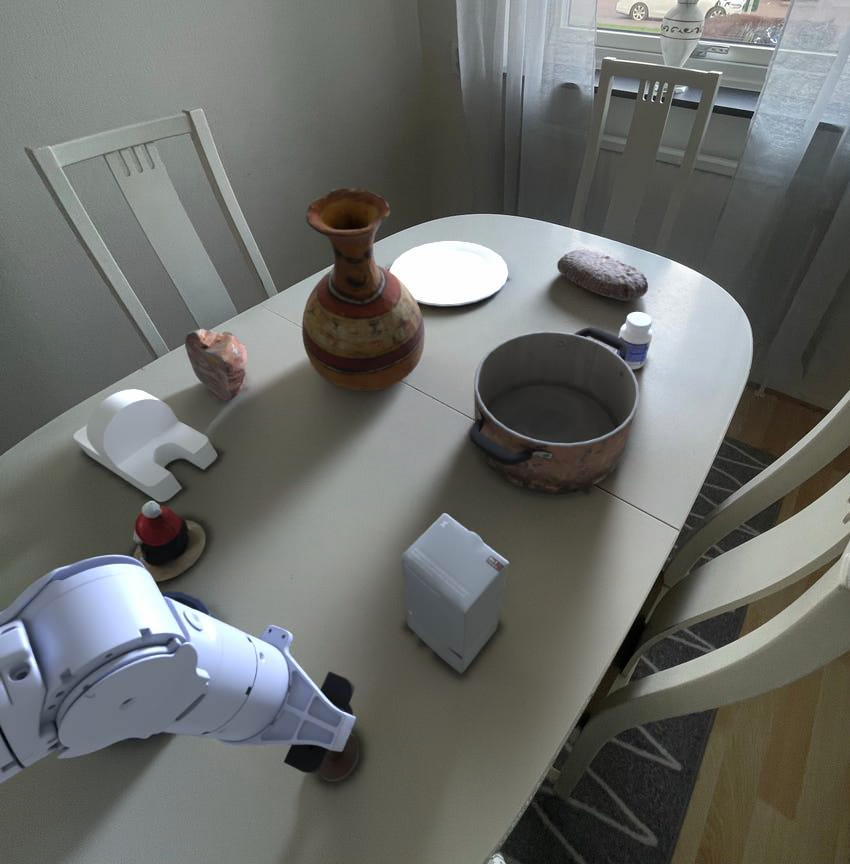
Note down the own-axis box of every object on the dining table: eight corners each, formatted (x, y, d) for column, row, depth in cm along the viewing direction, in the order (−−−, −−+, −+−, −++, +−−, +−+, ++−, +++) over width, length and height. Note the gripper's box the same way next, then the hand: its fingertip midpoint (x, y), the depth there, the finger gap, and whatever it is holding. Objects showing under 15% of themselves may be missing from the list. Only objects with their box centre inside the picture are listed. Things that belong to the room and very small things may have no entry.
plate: (455, 234, 122) (454, 229, 121) (532, 277, 109) (532, 271, 108) (365, 273, 110) (365, 268, 109) (440, 326, 97) (440, 321, 96)
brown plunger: (345, 789, 47) (323, 769, 41) (308, 770, 48) (280, 747, 42) (367, 740, 50) (349, 714, 44) (331, 724, 51) (309, 695, 45)
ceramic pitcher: (326, 418, 80) (272, 243, 60) (302, 342, 94) (251, 178, 73) (444, 381, 86) (431, 211, 65) (406, 315, 99) (385, 156, 78)
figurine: (103, 515, 64) (157, 466, 60) (181, 537, 70) (236, 494, 66) (81, 579, 58) (140, 529, 54) (169, 596, 64) (227, 553, 60)
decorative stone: (660, 284, 107) (666, 262, 103) (630, 317, 99) (636, 295, 95) (577, 255, 115) (580, 234, 112) (543, 283, 107) (545, 262, 104)
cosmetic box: (406, 626, 58) (388, 559, 47) (449, 579, 62) (442, 506, 51) (464, 680, 54) (459, 619, 43) (505, 625, 58) (511, 557, 47)
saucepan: (545, 352, 91) (550, 302, 84) (661, 412, 81) (680, 360, 74) (426, 456, 75) (420, 405, 68) (553, 547, 65) (563, 498, 57)
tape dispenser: (162, 504, 69) (124, 454, 62) (83, 451, 76) (39, 400, 68) (220, 455, 75) (191, 404, 68) (142, 410, 82) (108, 359, 74)
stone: (192, 376, 87) (167, 329, 80) (237, 351, 92) (217, 305, 85) (233, 411, 81) (209, 364, 74) (278, 383, 86) (261, 336, 79)
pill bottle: (647, 370, 88) (659, 329, 82) (616, 370, 88) (626, 329, 82) (640, 350, 92) (652, 309, 86) (611, 350, 92) (620, 309, 86)
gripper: (345, 650, 31) (403, 684, 42) (165, 577, 35) (259, 625, 46) (281, 791, 27) (363, 789, 38) (89, 689, 32) (211, 713, 42)
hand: (303, 705), depth 42 cm, fingers open, 7 cm apart
